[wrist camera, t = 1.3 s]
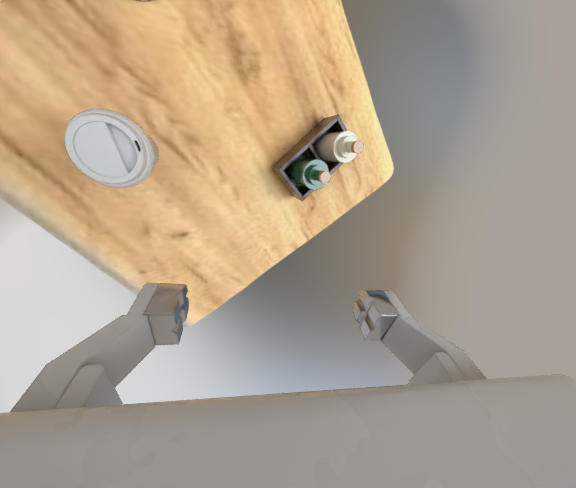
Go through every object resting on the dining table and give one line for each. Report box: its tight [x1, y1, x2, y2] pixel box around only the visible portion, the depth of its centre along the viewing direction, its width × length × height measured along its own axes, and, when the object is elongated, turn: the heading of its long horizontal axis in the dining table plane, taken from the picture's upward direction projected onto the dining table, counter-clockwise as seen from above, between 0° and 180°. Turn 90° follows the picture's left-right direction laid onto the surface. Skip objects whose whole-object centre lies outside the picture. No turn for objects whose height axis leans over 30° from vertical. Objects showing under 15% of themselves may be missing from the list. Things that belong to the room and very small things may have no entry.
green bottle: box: [286, 157, 331, 190], centre depth 45 cm, size 6×6×14 cm
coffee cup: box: [64, 109, 159, 187], centre depth 34 cm, size 10×10×15 cm
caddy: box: [271, 115, 347, 201], centre depth 49 cm, size 16×9×6 cm, turn 129°
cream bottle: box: [312, 131, 364, 163], centre depth 45 cm, size 6×6×14 cm
